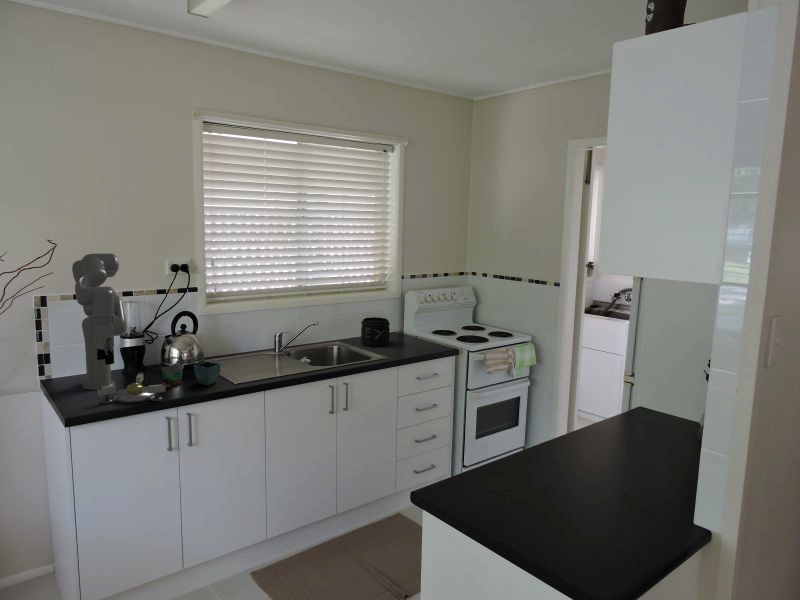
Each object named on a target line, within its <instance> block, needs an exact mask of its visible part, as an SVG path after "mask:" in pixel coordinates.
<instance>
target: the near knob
mask: <svg viewBox="0 0 800 600" xmlns="http://www.w3.org/2000/svg"><path fill="white" fill-rule="evenodd" d="M96 391H97V396H99V397H102V396H104V399H105V400H109V398H110V395H112V394H113V395H114V393H116V392H117V387H116V385H113V386H108V387H102V388H101V387H98V388H97V390H96Z"/></svg>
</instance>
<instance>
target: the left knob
mask: <svg viewBox="0 0 800 600" xmlns="http://www.w3.org/2000/svg"><path fill="white" fill-rule="evenodd" d="M143 381H144V372H138V373H137V375H136V377H135V383H138V384H142V385H143V383H142V382H143Z"/></svg>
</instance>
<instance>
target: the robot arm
mask: <svg viewBox="0 0 800 600" xmlns="http://www.w3.org/2000/svg"><path fill="white" fill-rule="evenodd" d="M71 268H72V269H71V271H72V276H73V279H74V282H75V285H74V293H75V299H76V301H77V304H79V305H80V306H81V307H82V308H83V312H84V314H85V316H87V317H86V318H84V319H82V321H81V329H82V333H83V334H82V335H83V338H84V339H83V340H84V349H85V350H84V351H85V366H86V367H85V370H86V371H85V372H86V374H83V375H82V376H81V377H80V380H81V381H84V383H83V385H82V388H83V389H85V390H91V391H95V390H96V391H97V388H98V387H101V388H102V387H108V386H113V385H114V386H116V381H115V380H113V379H112V373H111V372H112V371H111V365H114V364H115V352H114V351H115V349H114V348H115V337H118V336H119V337H120V336H123V335H125V334H126V332H127V329H128V324H127V319H126V313H125V308H124V302H123V300H122V298H121V297H120V296H118V295H117V293H116V290H115V289H114V288H113V287H112V286H101V285H103V284H105V283H106V281H107V280H108V279H107V278H113V277H115V276H116V274H117V272H118V271H119V268H120V262H119V259H118V257H117V255H115V254H114V253H109V252H108V253H107V252H106V253H87V254H85V255H84V256H83V257H82V258H81V259H79V260H76V261H74V263H72V267H71Z"/></svg>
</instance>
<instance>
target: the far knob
mask: <svg viewBox="0 0 800 600" xmlns="http://www.w3.org/2000/svg"><path fill="white" fill-rule="evenodd" d="M147 387H148V392H149V394H150V393H155V398H159V396H160V393H165V392H167V390H166V389H167V388H166V385H165V383H163V382H162V383H161V384H153V385H148V386H147Z"/></svg>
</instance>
